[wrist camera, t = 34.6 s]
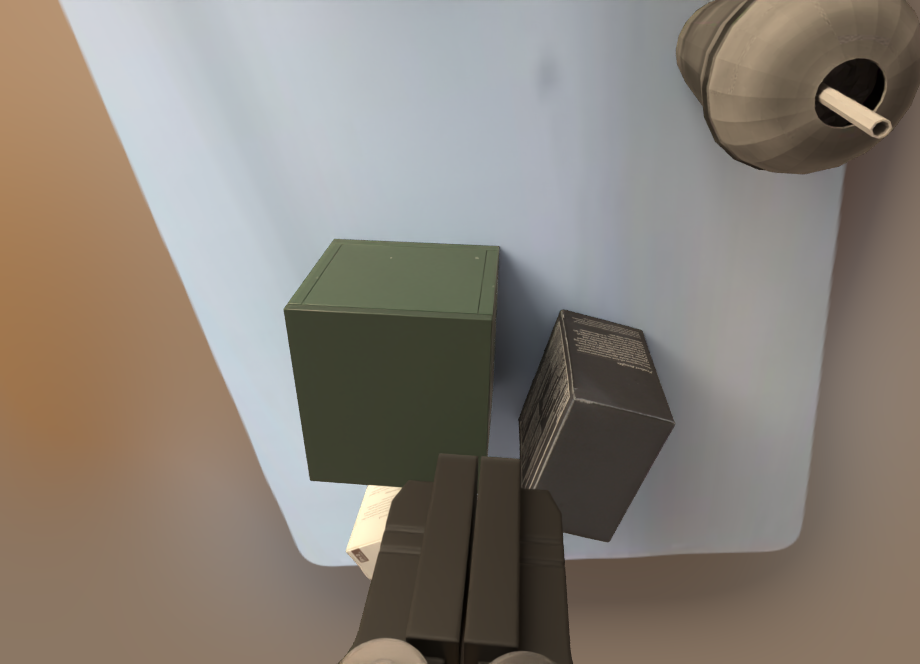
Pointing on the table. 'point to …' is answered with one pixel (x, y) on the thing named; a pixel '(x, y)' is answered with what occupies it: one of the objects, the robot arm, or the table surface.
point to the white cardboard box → (370, 527)
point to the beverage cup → (801, 77)
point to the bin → (406, 280)
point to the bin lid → (389, 390)
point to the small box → (592, 422)
